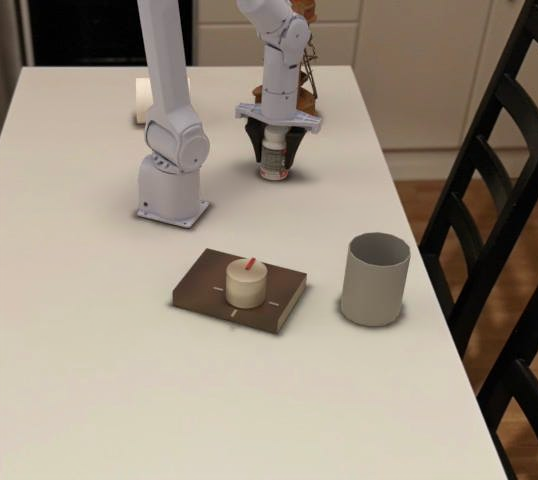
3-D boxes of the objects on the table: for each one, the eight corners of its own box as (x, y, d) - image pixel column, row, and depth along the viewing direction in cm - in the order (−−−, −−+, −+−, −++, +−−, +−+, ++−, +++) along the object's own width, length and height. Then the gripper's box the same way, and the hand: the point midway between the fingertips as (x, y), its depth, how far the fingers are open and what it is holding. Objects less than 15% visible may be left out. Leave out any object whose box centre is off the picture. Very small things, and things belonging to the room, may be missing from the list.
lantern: (244, 98, 179) (251, -68, 159) (310, 96, 180) (325, -70, 159) (255, 139, 167) (264, -35, 146) (325, 136, 168) (344, -37, 147)
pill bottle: (285, 182, 156) (289, 136, 150) (258, 179, 157) (260, 134, 151) (289, 168, 159) (292, 123, 154) (262, 166, 160) (264, 121, 154)
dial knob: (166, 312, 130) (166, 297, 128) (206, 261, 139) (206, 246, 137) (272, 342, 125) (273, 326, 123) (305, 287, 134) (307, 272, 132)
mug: (190, 130, 170) (190, 88, 164) (137, 131, 170) (135, 89, 164) (189, 101, 179) (188, 61, 173) (137, 102, 178) (136, 61, 173)
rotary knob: (257, 312, 126) (258, 284, 122) (219, 302, 127) (220, 274, 124) (271, 290, 129) (273, 262, 126) (234, 281, 131) (235, 253, 128)
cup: (404, 297, 132) (415, 238, 125) (394, 331, 127) (405, 271, 120) (346, 286, 134) (355, 227, 127) (334, 319, 129) (342, 259, 122)
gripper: (330, 84, 148) (322, 161, 157) (247, 69, 152) (244, 144, 161) (316, 102, 143) (309, 180, 152) (231, 86, 147) (228, 162, 157)
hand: (274, 163), depth 157 cm, fingers closed on pill bottle, 5 cm apart
